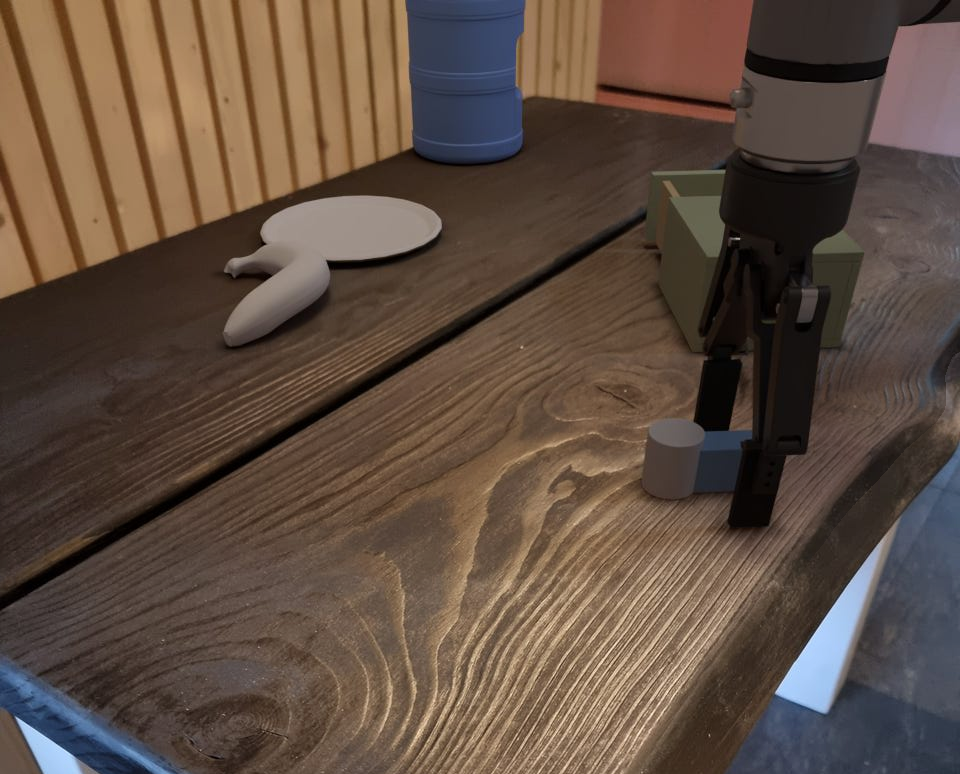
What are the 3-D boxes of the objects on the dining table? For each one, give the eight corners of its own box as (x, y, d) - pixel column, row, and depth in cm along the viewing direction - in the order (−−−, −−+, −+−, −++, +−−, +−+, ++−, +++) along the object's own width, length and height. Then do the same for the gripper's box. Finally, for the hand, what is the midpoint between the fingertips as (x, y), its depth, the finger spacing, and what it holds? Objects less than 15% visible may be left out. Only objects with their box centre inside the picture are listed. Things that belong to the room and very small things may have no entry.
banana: (274, 355, 84) (137, 335, 88) (360, 286, 98) (239, 271, 101) (266, 302, 81) (124, 283, 84) (357, 238, 95) (231, 224, 98)
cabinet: (657, 285, 95) (668, 197, 90) (787, 280, 96) (806, 193, 90) (692, 352, 84) (707, 256, 78) (839, 347, 84) (865, 251, 79)
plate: (313, 198, 117) (311, 187, 116) (467, 215, 111) (467, 204, 110) (227, 256, 102) (224, 245, 101) (400, 279, 97) (399, 267, 96)
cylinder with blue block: (747, 466, 70) (759, 414, 67) (762, 496, 67) (775, 443, 64) (636, 471, 70) (643, 418, 67) (646, 501, 67) (654, 447, 64)
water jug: (463, 173, 123) (458, -93, 104) (390, 149, 132) (373, -101, 113) (545, 150, 131) (554, -102, 112) (471, 128, 140) (468, -109, 121)
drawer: (636, 223, 106) (643, 159, 102) (743, 220, 107) (754, 156, 102) (671, 288, 92) (681, 218, 88) (793, 284, 93) (809, 214, 88)
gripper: (685, 104, 61) (646, 404, 76) (792, 224, 45) (715, 579, 60) (796, 102, 62) (735, 401, 77) (944, 220, 45) (829, 575, 60)
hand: (726, 479), depth 68 cm, fingers open, 11 cm apart
